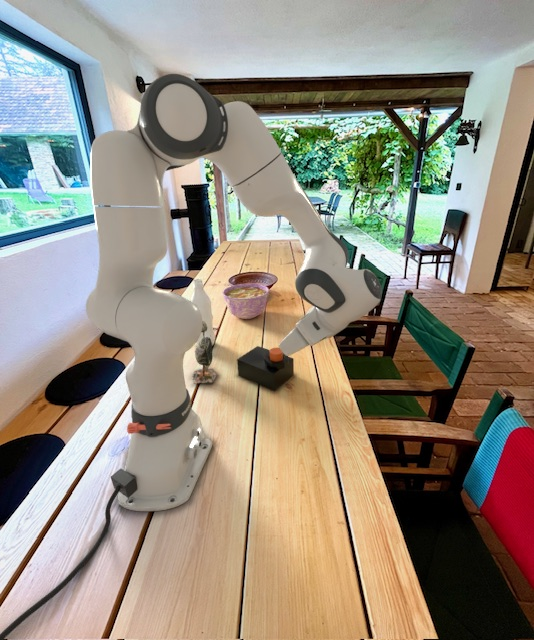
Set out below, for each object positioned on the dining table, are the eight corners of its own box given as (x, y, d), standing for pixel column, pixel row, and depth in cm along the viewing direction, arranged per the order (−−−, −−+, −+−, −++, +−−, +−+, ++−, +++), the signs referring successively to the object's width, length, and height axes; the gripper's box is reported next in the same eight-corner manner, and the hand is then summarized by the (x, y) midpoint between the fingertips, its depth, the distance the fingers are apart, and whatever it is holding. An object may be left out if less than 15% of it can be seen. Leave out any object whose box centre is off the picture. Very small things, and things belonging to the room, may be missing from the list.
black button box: (295, 375, 99) (295, 353, 95) (276, 392, 92) (275, 368, 88) (258, 361, 107) (257, 340, 104) (238, 375, 100) (236, 353, 97)
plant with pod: (222, 366, 105) (216, 310, 97) (212, 387, 95) (204, 326, 87) (198, 365, 106) (190, 309, 98) (186, 385, 96) (175, 325, 88)
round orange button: (286, 357, 94) (285, 349, 93) (278, 363, 91) (277, 355, 90) (275, 353, 97) (274, 346, 95) (266, 359, 94) (266, 351, 93)
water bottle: (212, 350, 115) (203, 283, 105) (193, 349, 116) (183, 283, 106) (218, 341, 121) (211, 277, 111) (200, 339, 123) (192, 276, 112)
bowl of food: (218, 323, 136) (215, 297, 131) (233, 305, 154) (231, 282, 149) (263, 326, 131) (262, 300, 126) (274, 308, 149) (273, 284, 144)
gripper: (336, 296, 86) (305, 321, 96) (294, 323, 72) (262, 349, 81) (351, 315, 86) (317, 338, 95) (311, 346, 71) (277, 370, 81)
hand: (292, 343), depth 88 cm, fingers closed
